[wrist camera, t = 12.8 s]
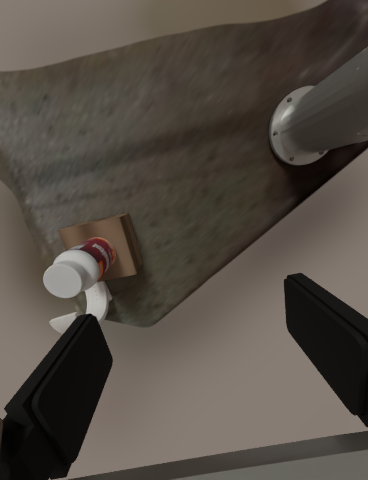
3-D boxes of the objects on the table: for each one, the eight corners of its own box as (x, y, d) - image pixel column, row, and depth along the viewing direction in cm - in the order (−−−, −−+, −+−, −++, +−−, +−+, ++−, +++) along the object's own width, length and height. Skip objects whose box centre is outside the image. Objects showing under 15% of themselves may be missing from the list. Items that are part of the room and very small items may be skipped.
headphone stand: (103, 279, 41) (74, 314, 30) (114, 301, 43) (90, 343, 31) (84, 285, 42) (48, 322, 30) (96, 307, 43) (66, 350, 32)
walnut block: (128, 213, 38) (119, 217, 32) (142, 262, 41) (136, 274, 35) (76, 223, 38) (58, 230, 32) (94, 271, 41) (80, 285, 35)
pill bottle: (122, 262, 34) (97, 295, 23) (92, 272, 34) (53, 310, 24) (107, 231, 32) (72, 252, 22) (75, 242, 33) (26, 268, 22)
